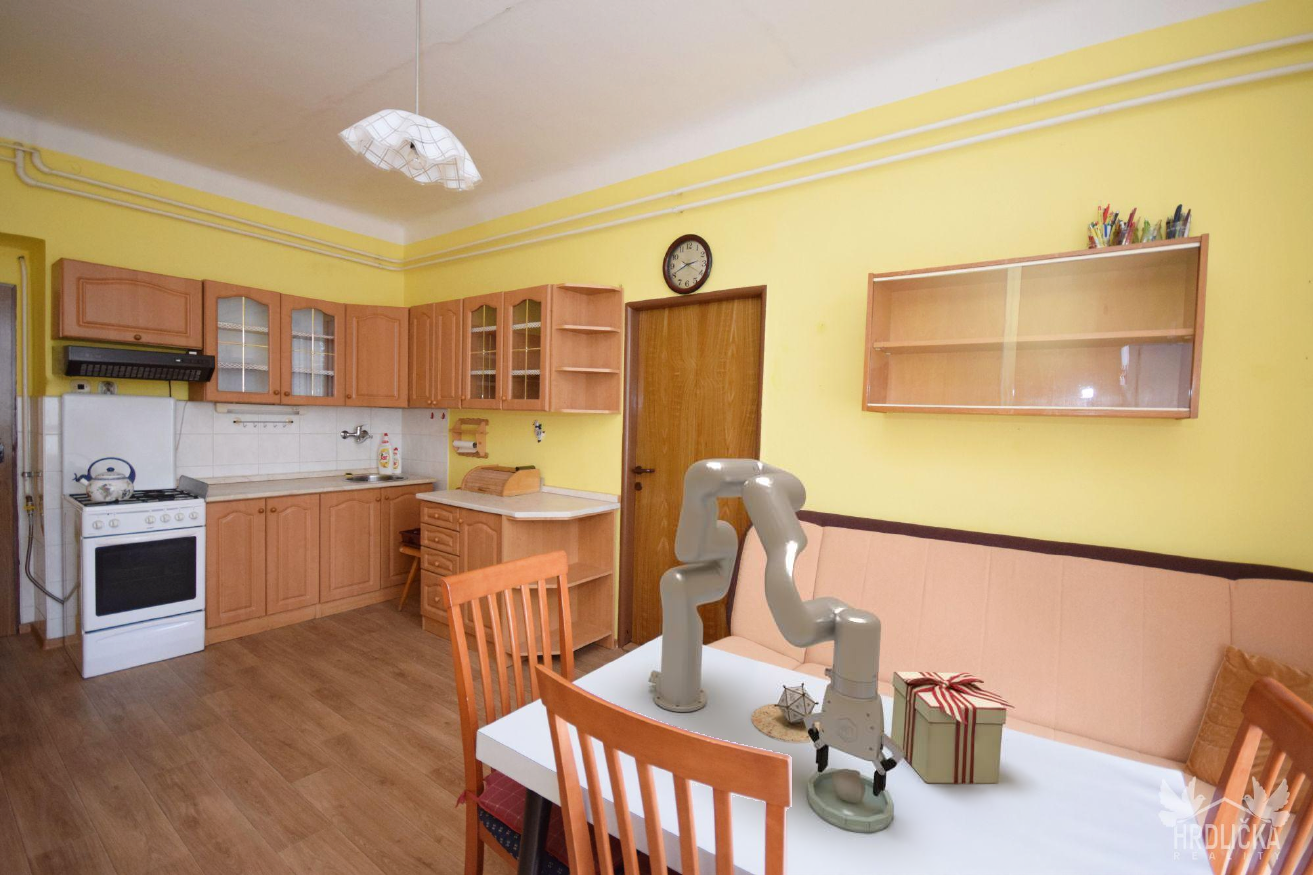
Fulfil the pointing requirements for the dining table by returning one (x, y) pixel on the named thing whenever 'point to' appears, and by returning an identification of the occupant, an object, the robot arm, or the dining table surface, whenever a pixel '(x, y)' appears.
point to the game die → (795, 704)
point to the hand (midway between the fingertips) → (849, 780)
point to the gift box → (948, 726)
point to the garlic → (848, 785)
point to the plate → (849, 805)
